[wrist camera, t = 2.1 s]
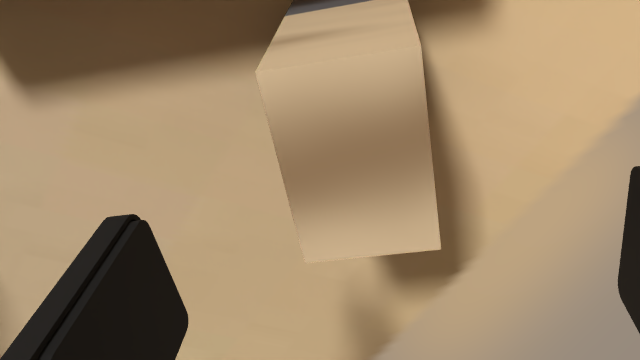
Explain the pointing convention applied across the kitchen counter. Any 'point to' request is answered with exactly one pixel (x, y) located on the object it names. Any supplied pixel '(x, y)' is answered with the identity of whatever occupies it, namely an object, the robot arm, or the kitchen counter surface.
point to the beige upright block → (352, 128)
